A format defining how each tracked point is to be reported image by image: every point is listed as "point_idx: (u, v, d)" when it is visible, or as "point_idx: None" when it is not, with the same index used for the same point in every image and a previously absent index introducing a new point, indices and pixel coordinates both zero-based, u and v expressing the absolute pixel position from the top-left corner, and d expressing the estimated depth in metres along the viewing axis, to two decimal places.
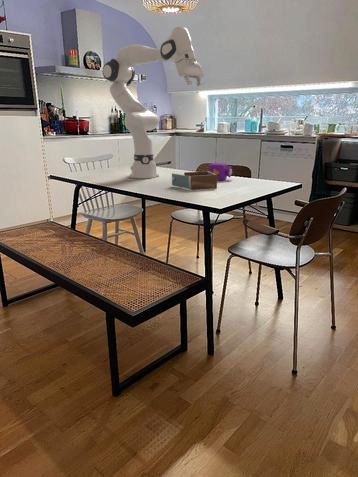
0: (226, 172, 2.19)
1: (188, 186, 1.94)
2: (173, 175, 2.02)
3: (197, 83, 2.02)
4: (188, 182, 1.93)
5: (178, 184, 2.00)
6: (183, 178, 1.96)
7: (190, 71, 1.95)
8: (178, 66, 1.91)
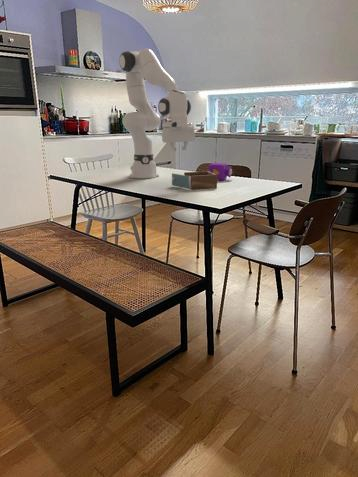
0: (226, 172, 2.19)
1: (188, 186, 1.94)
2: (173, 175, 2.02)
3: (182, 147, 2.00)
4: (188, 182, 1.93)
5: (178, 184, 2.00)
6: (183, 178, 1.96)
7: (176, 138, 1.93)
8: (163, 132, 1.90)
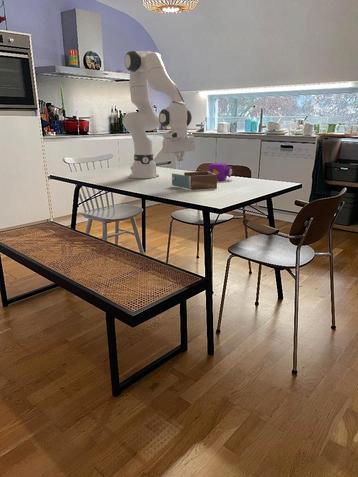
0: (226, 172, 2.19)
1: (188, 186, 1.94)
2: (173, 175, 2.02)
3: None
4: (188, 182, 1.93)
5: (178, 184, 2.00)
6: (183, 178, 1.96)
7: (176, 148, 1.94)
8: (164, 143, 1.91)
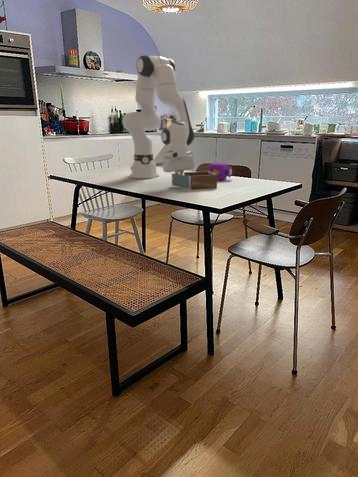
0: (226, 172, 2.19)
1: (188, 186, 1.94)
2: (173, 175, 2.02)
3: None
4: (188, 182, 1.93)
5: (178, 184, 2.00)
6: (183, 178, 1.96)
7: (176, 167, 1.97)
8: (164, 162, 1.94)
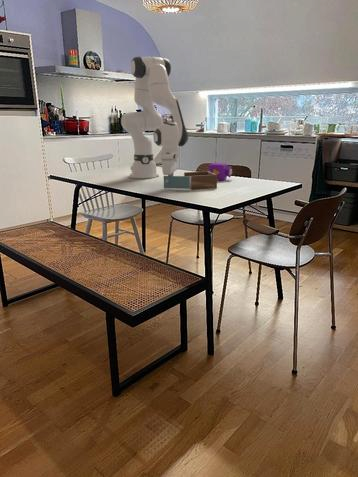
0: (226, 172, 2.19)
1: (189, 186, 1.94)
2: (166, 177, 1.95)
3: None
4: (189, 182, 1.93)
5: (173, 186, 1.95)
6: (182, 179, 1.93)
7: (172, 169, 1.92)
8: (164, 165, 1.85)
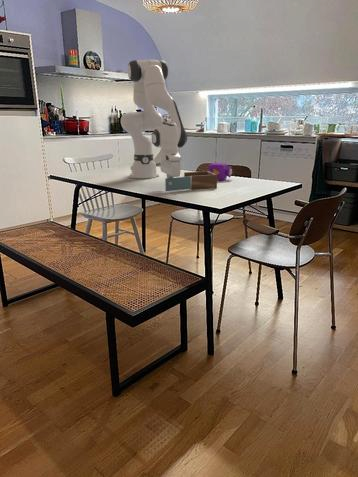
0: (226, 172, 2.19)
1: (190, 186, 1.93)
2: (168, 180, 1.87)
3: None
4: (190, 182, 1.93)
5: (175, 188, 1.90)
6: (183, 180, 1.91)
7: None
8: (175, 167, 1.79)
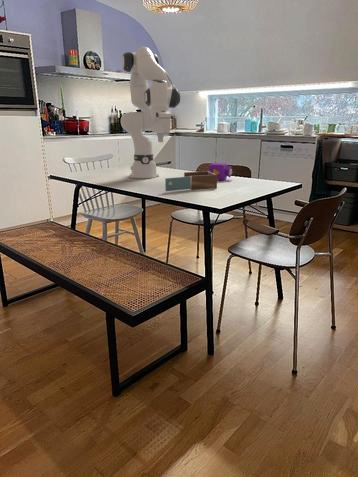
0: (226, 172, 2.19)
1: (190, 186, 1.93)
2: (168, 180, 1.87)
3: None
4: (190, 182, 1.93)
5: (175, 188, 1.90)
6: (183, 180, 1.91)
7: None
8: (164, 123, 1.80)
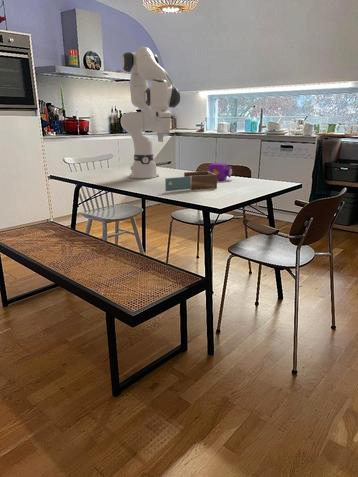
0: (226, 172, 2.19)
1: (190, 186, 1.93)
2: (168, 180, 1.87)
3: None
4: (190, 182, 1.93)
5: (175, 188, 1.90)
6: (183, 180, 1.91)
7: None
8: (164, 123, 1.80)
